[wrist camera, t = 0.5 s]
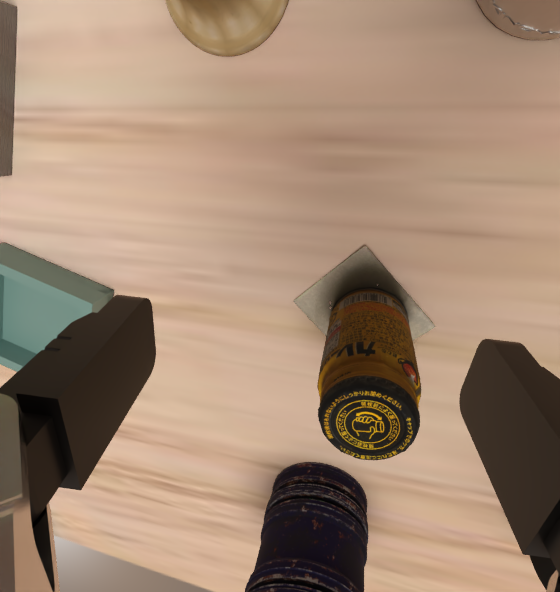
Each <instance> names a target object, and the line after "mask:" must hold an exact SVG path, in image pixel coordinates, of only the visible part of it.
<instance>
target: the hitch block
mask: <svg viewBox="0 0 560 592" xmlns="http://www.w3.org/2000/svg"><path fill="white" fill-rule="evenodd" d="M16 21H17V7H15V6H13V5H10V4H8V3H6V2H3V1H1V0H0V177H1V176H8V175H12V144H13V113H14V82H15V52H16Z"/></svg>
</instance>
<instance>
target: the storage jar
mask: <svg viewBox="0 0 560 592" xmlns="http://www.w3.org/2000/svg"><path fill="white" fill-rule="evenodd" d="M366 512H367V499H366V495H365V493H364V490H363V489H362V487H361V485H360V484H359V483H358V482H357V481H356V480H355V479H354V478H353V477H352V476H351V475H349V474H348V473H346V472H345V471H343V470H341V469H339V468H337V467H334V466H331V465H327V464H323V463H316V462H305V463H299V464H295V465H292V466H290V467H288V468H286V469H285V470H283V471H282V472H281V473H280V474H279V475H278V476H277V478H276V480H275V483H274V486H273V491H272V495H271V497H270V500H269V502H268V505H267V508H266V512H265V516H264V524H263V528H262V532H261V546H260V550H259V554H258V558H257V562H256V566H255V570H254V572H253V573H252V575H251V576H250V579H249V582H248V583H247V586H246V588H245V592H364V566H365V564H366V560H367V543H368V523H367V515H366Z"/></svg>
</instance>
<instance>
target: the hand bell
mask: <svg viewBox="0 0 560 592" xmlns="http://www.w3.org/2000/svg"><path fill="white" fill-rule="evenodd" d="M165 1H166V4H167V7H168V10H169V12H170V15H171V17H172V19H173V21H174V22H175V24H176V25H177V27H178V28H179V30H180V31H181V32H182V34H183V35H184V36H185V37H186V38H187V39H188V40H189V41H190V42H191V43H192V44H194V45H195V46H196V47H198V48H200V49H201V50H203V51H205V52H208V53H211V54H214V55H218V56H235V55H241V54H244V53H246V52H249V51H251V50H253V49H254V48H256V47H258V46H259V45H260V44H262V43H263V42H264V41H265V40H266V39H267V38H268V37H269V36H270V35H271V33H272V32H273V31H274V29H275V28H276V26H277V25H278V23H279V22H280V20H281V18H282V16H283V14H284V11H285V9H286V6H287V4H288V0H165Z"/></svg>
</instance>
